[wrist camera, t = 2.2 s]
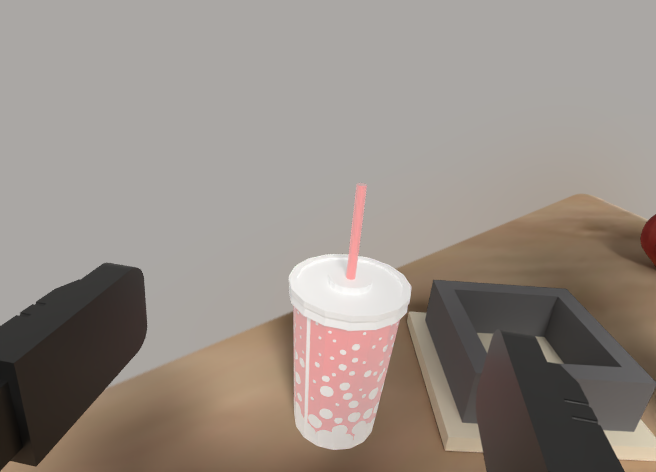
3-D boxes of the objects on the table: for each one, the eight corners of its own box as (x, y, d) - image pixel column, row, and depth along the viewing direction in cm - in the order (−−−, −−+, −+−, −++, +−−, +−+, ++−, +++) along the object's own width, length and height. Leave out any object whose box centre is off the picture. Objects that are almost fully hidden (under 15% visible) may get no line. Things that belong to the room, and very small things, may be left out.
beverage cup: (408, 422, 26) (456, 192, 21) (333, 484, 22) (367, 220, 17) (334, 366, 30) (357, 160, 25) (258, 410, 26) (266, 176, 20)
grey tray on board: (555, 331, 36) (572, 282, 34) (657, 461, 25) (690, 399, 23) (406, 322, 36) (416, 271, 34) (445, 450, 25) (461, 386, 23)
